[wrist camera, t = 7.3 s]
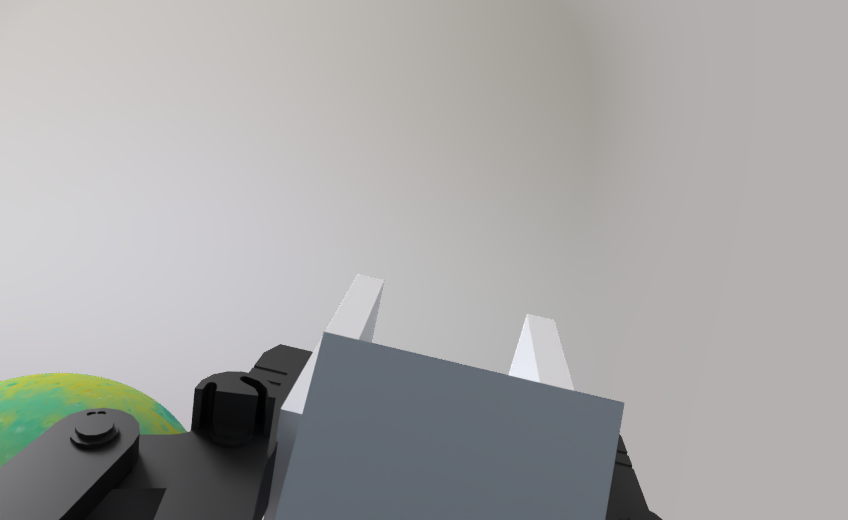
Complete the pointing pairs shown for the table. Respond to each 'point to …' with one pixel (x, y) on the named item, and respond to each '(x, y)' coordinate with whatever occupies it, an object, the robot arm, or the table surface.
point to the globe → (70, 406)
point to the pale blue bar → (444, 442)
